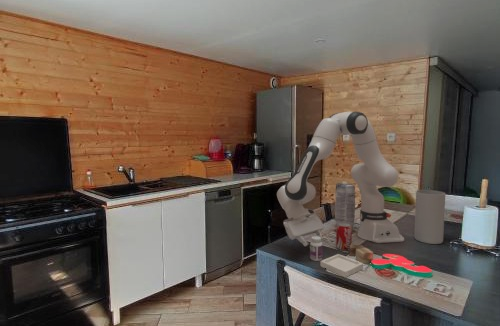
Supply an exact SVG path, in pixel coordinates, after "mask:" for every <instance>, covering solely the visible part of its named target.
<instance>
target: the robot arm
mask: <svg viewBox="0 0 500 326" xmlns="http://www.w3.org/2000/svg"><path fill="white" fill-rule="evenodd" d="M340 135H341V136H349V135H350V136H351V139H352V143H353V148H354V150H355V151H354V152H355V154H356V158H357V159H358V160H360V161H361V162H362V163H361V162H360V163H356V164H354V165H353V166H352V168H351V170H350V176H351V179H352V180H354V182H355V183H356V185H357V187H358V189H359V193H360V202H361V203H360V209H359V210H360V211H359V228H358V231H357V233H356V235H357V237H359V238H360V239H363V240H366V241H368V242H369V241H370V242H373V243H375V244H376V243H377V244H382V243H399V242H405V237H404V236H403V235H402V234H400V230H399V228H398V226H397V225H396V224H395V223H394V222H392V221H391V220H390V219H389V218H391V217H392V214H391V213H389V212H386V211H385V197H384V195H383V194H382V192H380V191H379V189H378V187H383V188H384V187H393V186H395V185H396V183H397V182H398V180H399V173H398V170H397V169H396V168H395V167H393V166H392V165H391V164H390V163H389V162H388V161H387V160H386V159H385V158H384V157H385V156H383V154H382V152H381V151H380V147H379V144H378V140H377V135H376V132H375V130H374V127H373V125H372V123H371V121H370V120H369V119H368V118H367V116H366V115H365V114H364V113H363V112H361V111H343V112H340V113H339V112H338V113H337V112H336V113H333V114H331V115H329V117H325V118H323V119H322V120H321V121H320V122H319V124H318V126H316V129H315V131H314V133H313V136H312V138H311V141H310V143H309V144H308V147H307V148H306V150H305V151H304V153H303V154H302V157H301V159H300V161H299V163H298V164H297V167H296V169H295V170H294V172H293V174H292V175H291V176H290V178H289V179H288V180H287V181H286V182H285V184H284V185H282V186H280V188H279V189H278V190H277V192H276V197H277V198H276V199H277V200H278V202H279V204H280V207H281V208H282V209H283V210H284V212H285V214H286V217H287V218H286V219H284V220H283V226H284V228H285V232H286V234H287V236H288V238H289V239H290V240H292V241H293V240H298V241H299V243H301V244H302V245H303V247H307V246H310V242H308V240H306V239H305V238H304V237H305V236H310V235H313V234H315V236H319V237H321V242H323V240H324V238H323V236H322V231H323V230H324V229H325V226H324V223H323V221H322V220H321V219H320V217H319V216H318V215H317V214H316V211H315V210H314V209H312V208H311V209H310V208H305V207H304V205H305V204H308V203H309V202H312V201H313V200H314V199H315V197H316V195H317V189H316V187H315V185H313V184H312V183H310V182H308V179H309V177H310V174H311V172H312V170H313V167H314V165H315V164H316V163H317V162H318V161H321V160H325V159H327V158H329V157H330V156H331V154H332V153H333V151H334V149H335V146H336V144H337V141H338V138H339V136H340Z"/></svg>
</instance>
